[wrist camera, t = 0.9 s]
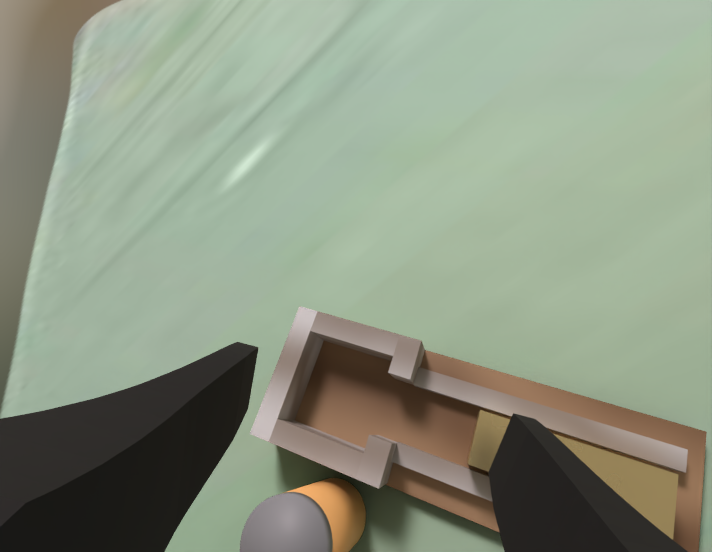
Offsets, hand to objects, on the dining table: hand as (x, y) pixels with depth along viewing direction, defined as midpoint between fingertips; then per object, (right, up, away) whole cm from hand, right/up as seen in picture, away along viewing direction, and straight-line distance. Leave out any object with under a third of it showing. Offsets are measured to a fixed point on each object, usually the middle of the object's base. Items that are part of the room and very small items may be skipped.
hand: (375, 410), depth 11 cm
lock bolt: (+9, -6, +9) cm, 14 cm away
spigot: (-2, -9, +11) cm, 14 cm away
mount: (+5, -5, +11) cm, 13 cm away
